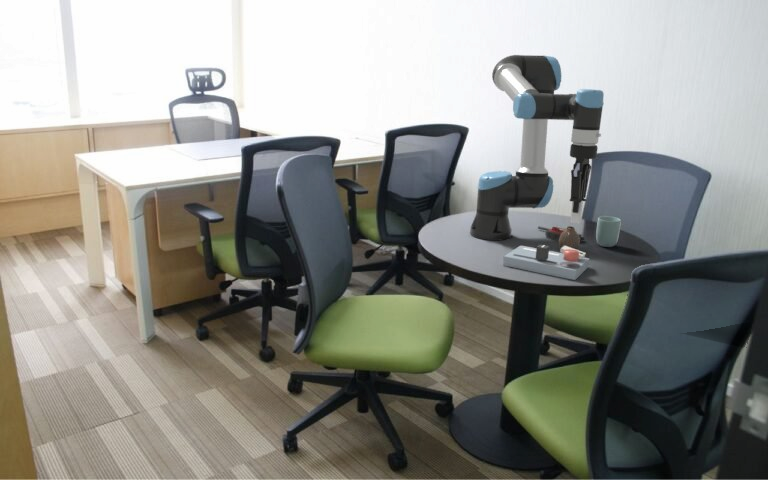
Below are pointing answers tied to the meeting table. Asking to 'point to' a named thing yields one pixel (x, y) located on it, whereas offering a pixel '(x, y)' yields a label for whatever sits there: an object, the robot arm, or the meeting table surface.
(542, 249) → the slider
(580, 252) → the rocker
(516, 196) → the robot arm
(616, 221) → the cup
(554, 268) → the console
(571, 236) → the vase
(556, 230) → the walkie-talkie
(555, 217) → the meeting table surface
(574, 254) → the button
